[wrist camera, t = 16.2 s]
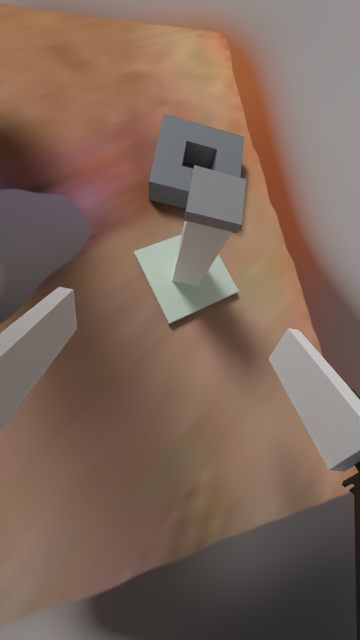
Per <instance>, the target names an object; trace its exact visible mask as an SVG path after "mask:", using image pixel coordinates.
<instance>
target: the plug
mask: <svg viewBox="0 0 360 640" xmlns="http://www.w3.org/2000/svg"><path fill="white" fill-rule="evenodd" d="M245 189H246V179H243V178H240V177H236V176H232V175H229V174H225V173H221V172H218V171H214V170H211V169H207V168H203V167H200V166H196V165H194V168H193V173H192V178H191V183H190V189H189V195H188V200H187V206H186V211H185V217H184V220H185V223H184V227H183V231H182V235H181V240H180V244H179V248H178V252H177V256H176V262H175V267H174V273H173V279H172V281H174V282H178V283H183V284H188V285H193V286H199V284H200V283H201V281H202V280H203V278H204V276H205V275H206V273H207V272H208V270H209V268H210V267H211V265H212V263H213V262H214V260H215V259H216V257H217V255H218V254H219V252H220V251H221V249H222V247H223V246H224V244H225V243H226V241H227V239H228V238H229V236H230V234H231V233H232V232H234V233H237V232H238V230H239V229H240V227H241V226H242V221H243V210H244V200H245Z"/></svg>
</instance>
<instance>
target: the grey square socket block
mask: <svg viewBox="0 0 360 640" xmlns="http://www.w3.org/2000/svg"><path fill="white" fill-rule="evenodd" d="M243 144H244V136H240V135H237V134H233V133H230V132H226V131H223V130H219V129H216V128H212V127H209V126H206V125H202V124H199V123H195V122H192V121H188V120H185V119H181V118H178V117H174V116H171V115H168V114H164V116H163V121H162V125H161V129H160V134H159V138H158V143H157V147H156V151H155V156H154V160H153V165H152V169H151V173H150V178H149V200H150V201H154V202H158V203H163V204H167V205H171V206H175V207H179V208H183V209H186V206H187V200H188V195H189V189H190V183H191V178H192V173H193V169H192V168H189V167H185V166H182V165H183V162H184V163H188V164H192V165H196V166H200V167H203V168H207V169H211V170H214V171H218V172H221V173H225V174H229V175H232V176H236V177H240V176H241V166H242V155H243Z"/></svg>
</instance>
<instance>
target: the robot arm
mask: <svg viewBox="0 0 360 640" xmlns="http://www.w3.org/2000/svg"><path fill="white" fill-rule="evenodd" d="M76 330H77V321H76V310H75V300H74V290H73V289H69V288H63V287H58V288H57V289H55V290H54V291H53V292H52V293H50V294H49V295H48V296H47V297H45V298H44V299H43V300H42V301H40V302H39V303H38V304H36V305H35V306H34V307H33V308H31V309H30V310H29V311H28V312H26V313H25V314H24V315H23V316H21V317H20V318H19V319H17V320H16V321H15V322H14V323H12V324H11V325H10V326H9V327H7V328H6V329H5V330H4V331H2V332H0V432H1V431H2V429H3V428H4V427H5V425H6V424H7V423H8V421H9V420H10V419H11V417H12V416H13V414H14V413H15V412H16V410H17V409H18V408H19V406H20V405H21V404H22V402H23V401H24V400H25V398H26V397H27V396H28V394H29V393H30V392H31V390H32V389H33V388H34V386H35V385H36V384H37V382H38V381H39V379H40V378H41V377H42V375H43V374H44V373H45V371H46V370H47V369H48V367H49V366H50V365H51V363H52V362H53V361H54V359H55V358H56V357H57V355H58V354H59V353H60V351H61V350H62V349H63V347H64V346H65V344H66V343H67V342H68V340H69V339H70V338H71V336H72V335H73V334H74V332H75V331H76ZM269 361H270V363H271V364H272V366H273V368H274V370H275V372H276V374H277V375H278V377H279V379H280V381H281V383H282V385H283V387H284V388H285V390H286V392H287V394H288V396H289V398H290V399H291V401H292V403H293V405H294V407H295V409H296V411H297V412H298V414H299V416H300V418H301V420H302V422H303V423H304V425H305V427H306V429H307V431H308V433H309V435H310V436H311V438H312V440H313V442H314V444H315V446H316V447H317V449H318V451H319V453H320V455H321V457H322V459H323V460H324V462H325V464H326V466H327V468H328V470H334V471H346V470H348V469H349V468H351V467H353V466H354V465H355V466H356V468H357V470H358V471H359V473H357V474H355V475H353V476H352V477H350V478H348V479H346V480H345V481H343V484H342V486H344V487H347V486H348V485H350V484H354V487H353V488H351V489H350V490H349V491H350V492H352V493H353V494H354V498H355V499H354V502H355V556H356V557H355V559H356V608H357V609H356V613H357V640H360V397H359V396H358V395H357V393H356V392H355V391H354V390H352V389H351V388H350V387H349V386H348V385H346V383H345V382H344V381H343V380H342V379H341V378H340V377H339V375H338V374H337V373H336V372H335V371H334V370H333V369H332V367H331V366H330V365H329V364H328V363H327V362H326V360H325V359H324V358H323V357H322V356H321V355H320V354H319V352H318V351H317V350H316V349H315V348H314V347H313V346H312V344H311V343H310V342H309V341H308V340H307V339H306V338H305V337H304V335H303V334H302V333H301V332H300V331H299V330H295V329H290V328H288V329H287V331H286V332H285V334H284V335H283V337H282V338H281V340H280V342H279V343H278V345H277V346H276V348H275V349H274V351H273V353H272V354H271V356H270V357H269Z"/></svg>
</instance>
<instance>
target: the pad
mask: <svg viewBox="0 0 360 640" xmlns="http://www.w3.org/2000/svg"><path fill="white" fill-rule="evenodd" d="M180 240H181V235H179V236H176V237H173V238H170V239H168V240H165V241H162V242H159V243H156V244H154V245H151V246H148V247H145V248H142V249H140V250H137V251H134V255H135V257H136V259H137V262H138V264H139V266H140V268H141V270H142V272H143V274H144V276H145V278H146V280H147V282H148V284H149V286H150V288H151V290H152V292H153V294H154V296H155V298H156V300H157V302H158V304H159V307H160V309H161V311H162V313H163V315H164V317H165V319H166V321H167V323H168V325H169V324H171V323H173V322H175V321H177V320H180V319H182V318H184V317H186V316H188V315H190V314H193V313H195V312H197V311H199V310H201V309H203V308H206V307H208V306H210V305H212V304H214V303H216V302H218V301H221V300H223V299H225V298H227V297H229V296H231V295H234V294H236V293H237V292H238V289H237V287H236V285H235V283H234V282H233V280H232V278H231V276H230V274H229V273H228V271H227V269H226V267H225V265H224V264H223V262H222V260H221V258H220V256H219V255H217V257H216V259H215V260H214V262H213V263H212V265H211V267H210V268H209V270H208V272H207V273H206V275H205V276H204V278H203V280H202V281H201V283H200V284H199V286H193V285H188V284H183V283H178V282H174V281H172V279H173V273H174V267H175V262H176V256H177V252H178V248H179V244H180Z"/></svg>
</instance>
